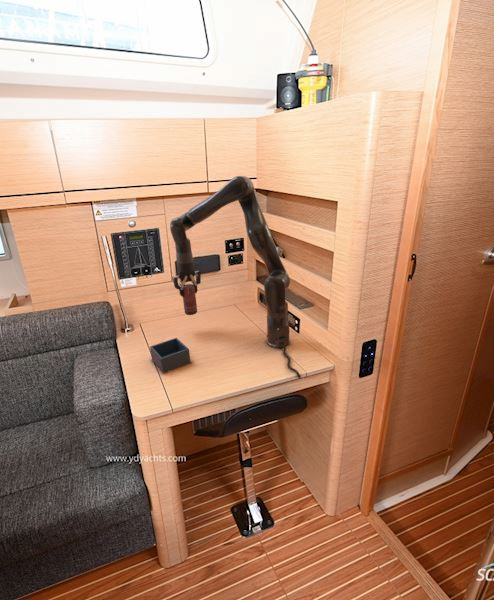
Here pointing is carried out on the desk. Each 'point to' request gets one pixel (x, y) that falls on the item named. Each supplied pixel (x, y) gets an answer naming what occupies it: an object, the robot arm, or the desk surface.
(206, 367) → the desk surface
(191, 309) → the can
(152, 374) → the desk surface
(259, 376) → the desk surface
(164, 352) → the bin
